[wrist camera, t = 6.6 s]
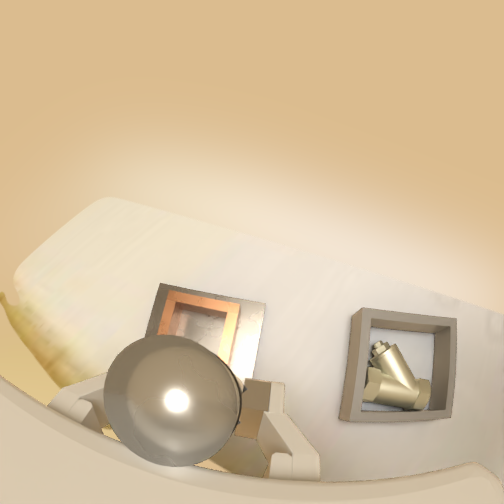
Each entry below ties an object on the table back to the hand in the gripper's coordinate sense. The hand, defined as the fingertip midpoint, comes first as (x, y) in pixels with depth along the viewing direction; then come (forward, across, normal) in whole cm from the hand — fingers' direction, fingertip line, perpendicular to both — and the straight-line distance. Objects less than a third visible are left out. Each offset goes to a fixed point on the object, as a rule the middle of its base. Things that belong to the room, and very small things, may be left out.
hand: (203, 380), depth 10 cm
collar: (+16, +4, +10) cm, 20 cm away
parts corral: (+16, -18, +11) cm, 26 cm away
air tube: (+4, 0, +5) cm, 6 cm away
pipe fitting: (+15, -17, +12) cm, 26 cm away
